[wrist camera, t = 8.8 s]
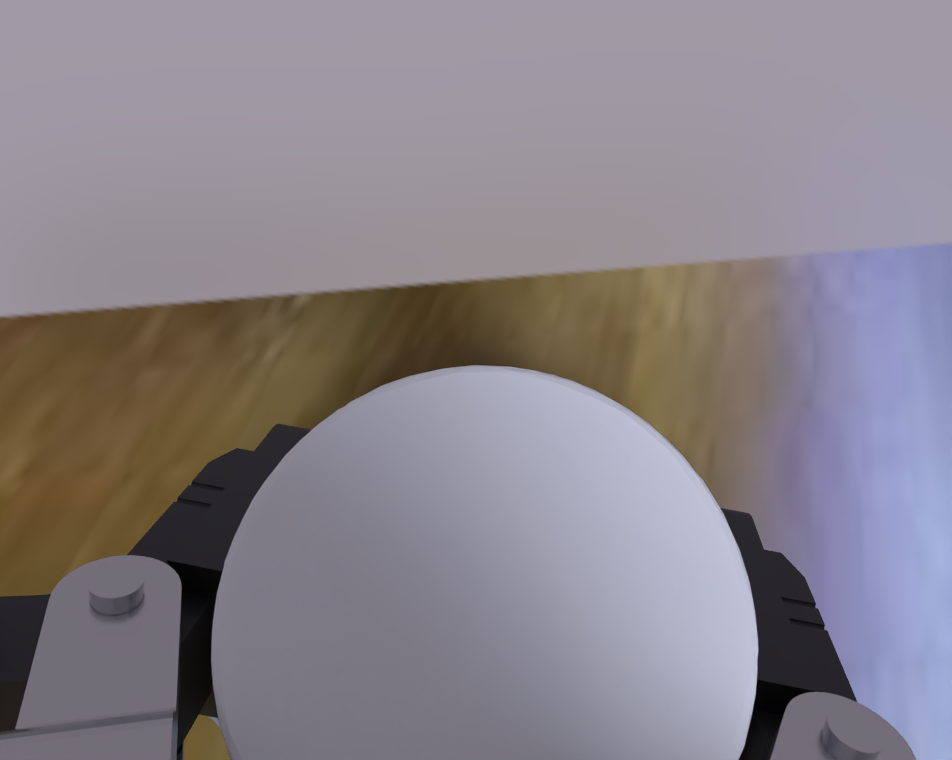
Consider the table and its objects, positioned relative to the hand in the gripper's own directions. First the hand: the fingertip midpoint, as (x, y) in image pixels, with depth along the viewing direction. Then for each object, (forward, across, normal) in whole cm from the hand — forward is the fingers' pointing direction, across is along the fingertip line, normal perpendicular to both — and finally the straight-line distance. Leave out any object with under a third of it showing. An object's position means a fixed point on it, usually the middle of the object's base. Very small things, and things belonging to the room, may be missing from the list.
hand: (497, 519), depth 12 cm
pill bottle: (+2, 0, +5) cm, 5 cm away
